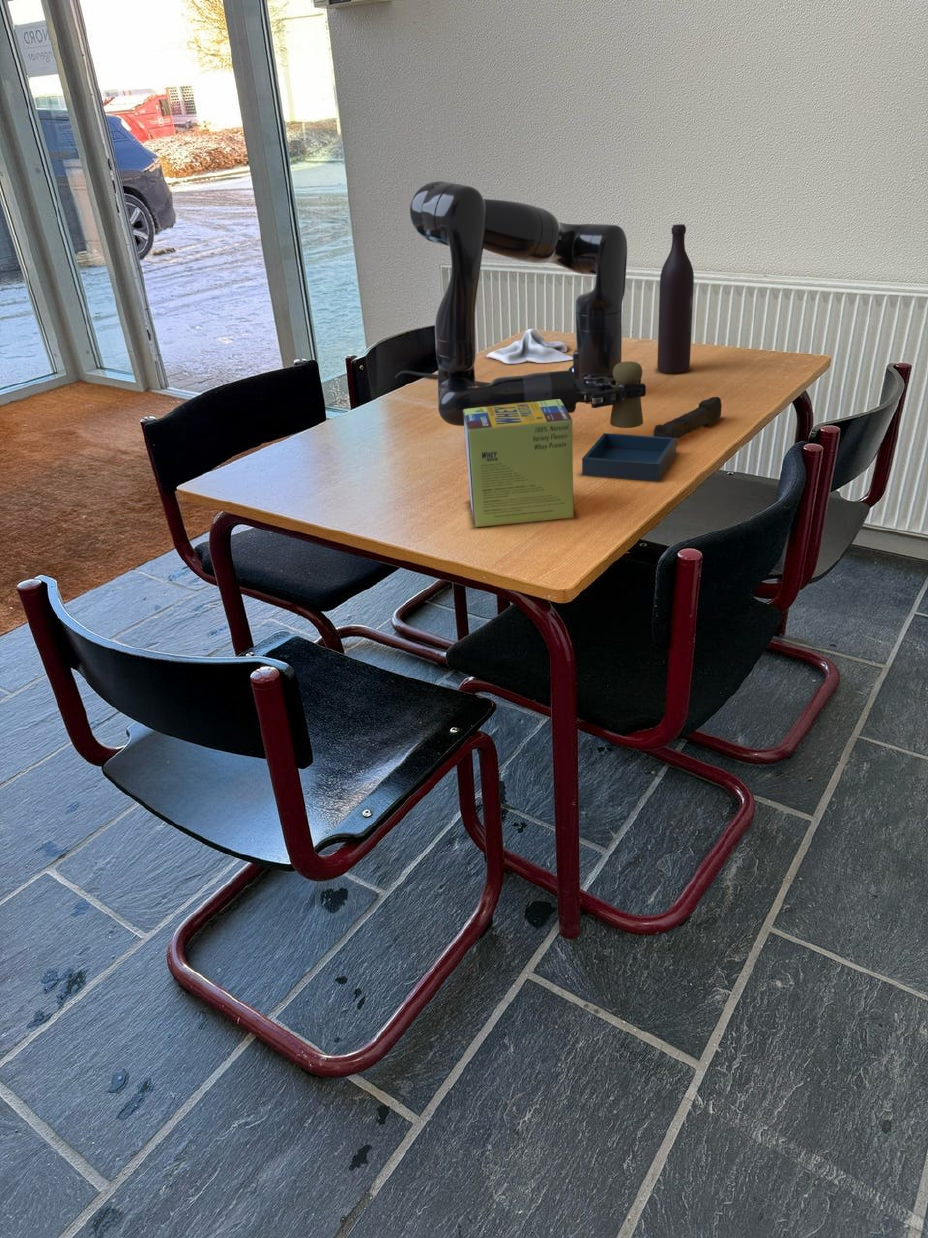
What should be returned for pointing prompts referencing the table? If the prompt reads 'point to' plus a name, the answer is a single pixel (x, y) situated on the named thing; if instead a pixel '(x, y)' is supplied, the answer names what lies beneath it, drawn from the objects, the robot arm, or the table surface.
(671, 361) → the wine bottle
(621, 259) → the robot arm
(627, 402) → the cork
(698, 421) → the rusty railroad spike
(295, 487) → the table surface
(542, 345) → the cloth
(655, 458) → the caddy
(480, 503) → the protein box
